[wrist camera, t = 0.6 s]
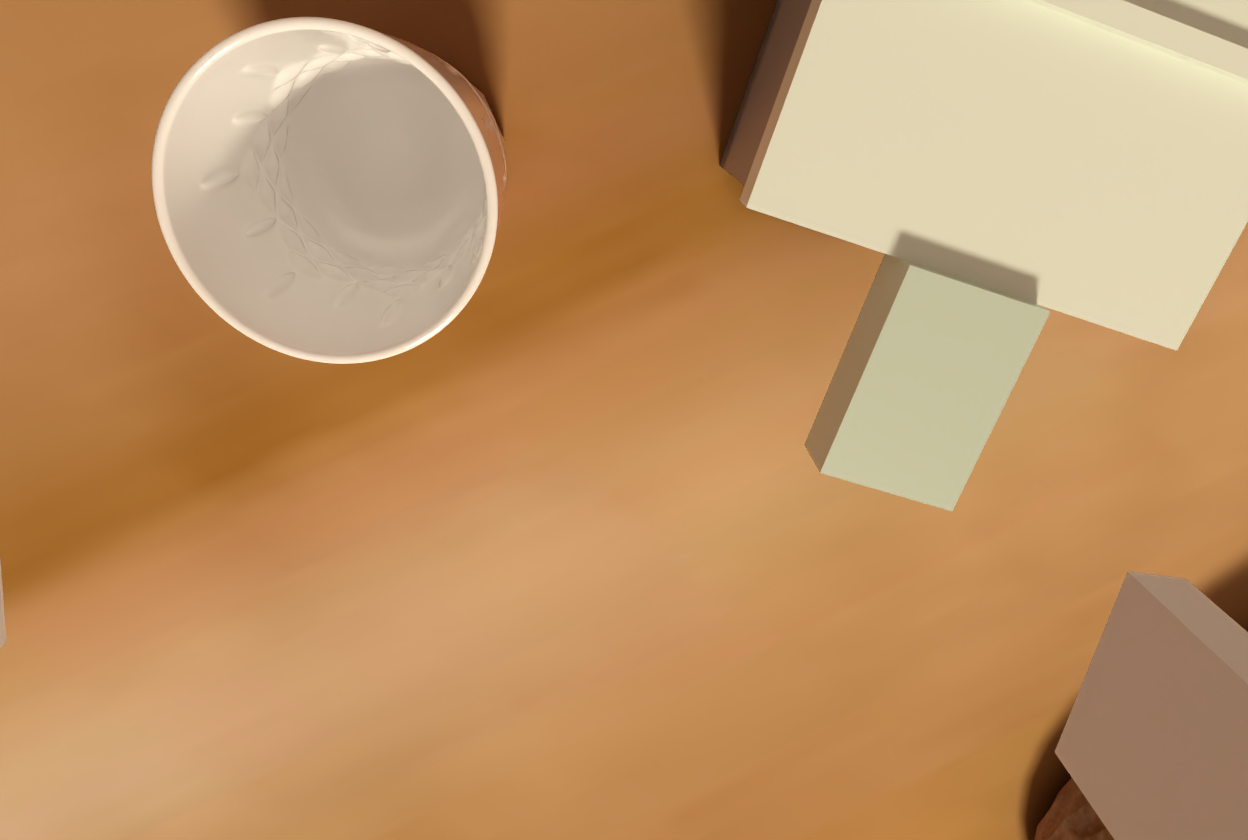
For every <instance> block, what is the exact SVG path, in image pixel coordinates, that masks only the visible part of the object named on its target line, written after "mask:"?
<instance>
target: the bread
mask: <svg viewBox="0 0 1248 840" xmlns="http://www.w3.org/2000/svg"><path fill="white" fill-rule="evenodd" d="M1034 840H1114V838H1113V837H1112V835H1111V834H1110V833H1109V831H1108V830H1107V828H1106V827H1105V825H1104V824H1103V822H1102V821H1101V819H1100V818H1099V816H1098V815H1097V814H1096V812H1095V811H1094V809H1093V808H1092V806H1091V805H1090V803H1089V802H1088V800H1087V799H1086V797H1085V796H1084V795H1083V793H1082V792H1081V790H1080V789H1079V787H1078V786H1077V784H1076V783H1075V781H1074V780H1073V778H1072V777H1071V779H1070V780H1069V781H1068V782H1067V783H1066V784H1065V785H1064V787H1063V788H1062V789H1061V790H1060V791H1059V793H1058V794H1057V796H1056V798H1055V800H1054V802H1053V804H1052V806H1051V808H1050V809H1049V811H1048V812H1047V813H1046V815H1045V816H1044V818H1043V819H1042V820H1041V822H1040V823H1039V824H1038V826H1037V830H1036V835H1035V839H1034Z"/></svg>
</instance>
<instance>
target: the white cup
mask: <svg viewBox="0 0 1248 840" xmlns="http://www.w3.org/2000/svg"><path fill="white" fill-rule="evenodd" d="M152 188H153V197H154V203H155V208H156V213H157V217H158V220H159V224H160V227H161V230H162V233H163V236H164V238H165V241H166V243H167V246H168V248H169V250H170V252H171V254H172V256H173V258H174V260H175V262H176V263H177V265H178V267H179V269H180V270H181V272H182V273H183V275H184V276H185V278H186V279H187V281H188V282H189V283H190V285H191V286H192V287H193V289H194V290H195V291H196V292H197V294H198V295H199V296H200V297H201V298H202V299H203V300H204V301H205V303H206V304H207V305H208V306H209V307H210V308H211V309H212V310H213V311H215V312H216V313H217V314H218V315H219V316H220V317H221V318H223V319H224V320H225V321H226V322H227V323H229V324H230V325H231V326H233V327H234V328H236V329H237V330H238V331H240V332H241V333H243V334H245V335H246V336H248V337H249V338H251V339H253V340H255V341H257V342H258V343H260V344H262V345H264V346H267V347H269V348H271V349H273V350H276V351H279V352H281V353H284V354H287V355H290V356H293V357H297V358H301V359H305V360H310V361H316V362H323V363H337V364H348V363H362V362H369V361H375V360H380V359H384V358H388V357H391V356H394V355H397V354H400V353H403V352H405V351H407V350H410V349H412V348H414V347H416V346H418V345H420V344H421V343H423V342H425V341H426V340H428V339H430V338H431V337H433V336H434V335H435V334H437V333H438V332H439V331H441V330H442V329H443V328H444V327H446V326H447V325H448V324H449V323H450V322H451V321H452V320H453V319H454V318H455V317H456V316H457V315H458V314H459V313H460V312H461V310H462V309H463V308H464V307H465V306H466V304H467V303H468V301H469V300H470V299H471V297H472V296H473V294H474V293H475V291H476V289H477V288H478V286H479V284H480V282H481V280H482V278H483V276H484V274H485V271H486V269H487V266H488V264H489V261H490V258H491V255H492V251H493V247H494V243H495V238H496V234H497V231H498V227H499V223H500V219H501V215H502V211H503V205H504V199H505V189H506V161H505V154H504V138H503V136H502V133H501V131H500V129H499V127H498V125H497V122H496V120H495V118H494V116H493V113H492V111H491V109H490V107H489V105H488V102H487V100H486V98H485V96H484V94H483V93H481V92H480V91H479V90H478V89H477V88H476V87H475V86H474V85H472V84H471V83H470V82H469V81H468V80H467V79H466V78H465V77H464V76H463V75H462V74H461V73H460V72H459V71H458V70H456V69H455V68H454V67H452V66H451V65H450V64H449V63H447V62H446V61H444V60H442V59H441V58H439V57H438V56H436V55H434V54H432V53H430V52H428V51H426V50H424V49H422V48H420V47H418V46H416V45H414V44H412V43H410V42H407V41H405V40H402V39H400V38H397V37H394V36H391V35H387V34H384V33H381V32H379V31H376V30H373V29H370V28H368V27H365V26H362V25H358V24H355V23H351V22H347V21H343V20H338V19H331V18H323V17H291V18H283V19H276V20H271V21H267V22H263V23H260V24H257V25H254V26H251V27H248V28H246V29H243V30H241V31H239V32H237V33H235V34H233V35H231V36H229V37H227V38H226V39H224V40H222V41H221V42H219V43H218V44H216V45H215V46H213V47H212V48H211V49H210V50H208V51H207V52H206V53H205V54H203V55H202V56H201V57H200V58H199V59H198V60H197V61H196V62H195V63H194V64H193V65H192V66H191V67H190V68H189V70H188V71H187V72H186V73H185V74H184V76H183V77H182V78H181V80H180V81H179V83H178V84H177V86H176V87H175V89H174V91H173V92H172V94H171V96H170V98H169V100H168V102H167V104H166V106H165V108H164V111H163V113H162V116H161V119H160V122H159V125H158V128H157V132H156V137H155V142H154V148H153V156H152Z"/></svg>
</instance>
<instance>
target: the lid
mask: <svg viewBox="0 0 1248 840" xmlns="http://www.w3.org/2000/svg"><path fill="white" fill-rule="evenodd" d="M739 201H740V202H741V203H742V204H743V205H744V206H745V207H746V208H749V209H752V210H755V211H758V212H761V213H764V214H767V215H770V216H773V217H776V218H779V219H782V220H785V221H788V222H791V223H794V224H797V225H800V226H803V227H806V228H809V229H812V230H815V231H818V232H821V233H824V234H827V235H830V236H833V237H836V238H839V239H842V240H846V241H849V242H852V243H855V244H858V245H861V246H864V247H867V248H870V249H873V250H876V251H879V252H882V253H885V255H884V258H883V260H882V262H881V265H880V267H879V269H878V272H877V274H876V276H875V279H874V281H873V284H872V286H871V288H870V291H869V293H868V295H867V298H866V300H865V303H864V305H863V307H862V310H861V312H860V314H859V317H858V319H857V322H856V324H855V326H854V329H853V331H852V333H851V336H850V338H849V340H848V343H847V345H846V348H845V350H844V352H843V355H842V357H841V359H840V362H839V364H838V367H837V369H836V371H835V374H834V376H833V378H832V381H831V383H830V385H829V388H828V390H827V393H826V395H825V397H824V400H823V402H822V404H821V407H820V409H819V412H818V414H817V416H816V419H815V421H814V423H813V426H812V428H811V430H810V433H809V435H808V438H807V440H806V442H805V447H806V448H807V450H808V452H809V454H810V456H811V457H812V459H813V461H814V463H815V465H816V466H817V468H818V470H819V472H820V473H823V474H826V475H829V476H833V477H836V478H840V479H843V480H847V481H850V482H853V483H857V484H860V485H864V486H867V487H870V488H874V489H877V490H881V491H884V492H887V493H891V494H894V495H898V496H901V497H905V498H908V499H911V500H915V501H918V502H922V503H925V504H928V505H932V506H935V507H939V508H942V509H945V510H949V511H952V510H953V508H954V506H955V504H956V502H957V500H958V498H959V496H960V494H961V492H962V490H963V488H964V486H965V484H966V482H967V480H968V478H969V476H970V474H971V472H972V470H973V468H974V466H975V464H976V462H977V460H978V458H979V456H980V454H981V452H982V450H983V447H984V445H985V443H986V441H987V439H988V437H989V435H990V433H991V431H992V429H993V427H994V425H995V423H996V421H997V419H998V417H999V415H1000V413H1001V411H1002V409H1003V407H1004V405H1005V403H1006V401H1007V399H1008V397H1009V395H1010V393H1011V391H1012V389H1013V387H1014V385H1015V383H1016V381H1017V379H1018V377H1019V374H1020V372H1021V370H1022V368H1023V366H1024V364H1025V362H1026V360H1027V358H1028V356H1029V354H1030V352H1031V350H1032V348H1033V346H1034V344H1035V342H1036V340H1037V338H1038V336H1039V334H1040V332H1041V330H1042V328H1043V326H1044V324H1045V322H1046V320H1047V318H1048V316H1049V314H1050V311H1048V310H1047V309H1045V308H1043V307H1041V306H1044V307H1047V308H1050V309H1053V310H1056V311H1059V312H1062V313H1065V314H1068V315H1071V316H1074V317H1077V318H1080V319H1083V320H1086V321H1089V322H1092V323H1095V324H1098V325H1101V326H1104V327H1107V328H1110V329H1113V330H1116V331H1119V332H1122V333H1125V334H1128V335H1131V336H1134V337H1137V338H1140V339H1143V340H1146V341H1149V342H1152V343H1155V344H1158V345H1161V346H1164V347H1167V348H1170V349H1173V350H1176V351H1177V349H1178V348H1179V346H1180V344H1181V342H1182V340H1183V339H1184V337H1185V335H1186V333H1187V331H1188V329H1189V328H1190V326H1191V324H1192V322H1193V320H1194V318H1195V317H1196V315H1197V313H1198V311H1199V309H1200V308H1201V306H1202V304H1203V302H1204V300H1205V298H1206V297H1207V295H1208V293H1209V291H1210V289H1211V287H1212V286H1213V284H1214V282H1215V280H1216V278H1217V277H1218V275H1219V273H1220V271H1221V269H1222V267H1223V266H1224V264H1225V262H1226V260H1227V258H1228V256H1229V255H1230V253H1231V251H1232V249H1233V247H1234V246H1235V244H1236V242H1237V240H1238V238H1239V236H1240V235H1241V233H1242V231H1243V229H1244V227H1245V225H1246V224H1247V222H1248V0H812V1H811V4H810V7H809V9H808V12H807V15H806V18H805V20H804V23H803V26H802V29H801V31H800V34H799V37H798V40H797V43H796V45H795V48H794V51H793V54H792V56H791V59H790V62H789V65H788V67H787V70H786V73H785V76H784V78H783V81H782V84H781V87H780V90H779V92H778V95H777V98H776V101H775V103H774V106H773V109H772V112H771V114H770V117H769V120H768V123H767V125H766V128H765V131H764V134H763V137H762V139H761V142H760V145H759V148H758V150H757V153H756V156H755V159H754V161H753V164H752V167H751V170H750V172H749V175H748V178H747V181H746V184H745V186H744V189H743V192H742V195H741V197H740V200H739ZM1039 305H1041V306H1039Z"/></svg>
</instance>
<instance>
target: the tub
mask: <svg viewBox="0 0 1248 840" xmlns="http://www.w3.org/2000/svg"><path fill="white" fill-rule="evenodd" d="M811 1H812V0H777V3H776V5H775V8H774V11H773V14H772V17H771V20H770V23H769V25H768V28H767V31H766V34H765V37H764V40H763V42H762V45H761V48H760V51H759V54H758V57H757V60H756V62H755V65H754V68H753V71H752V74H751V77H750V80H749V82H748V85H747V88H746V91H745V94H744V97H743V100H742V102H741V105H740V108H739V111H738V114H737V117H736V120H735V122H734V125H733V128H732V131H731V134H730V137H729V140H728V142H727V145H726V148H725V151H724V154H723V157H722V160H721V162H720V166H721V167H722V168H723V169H725V170H726V171H727V172H728V173H730V174H731V175H732V176H733V177H734V178H736V179H737V180H738V181H739V182H741V183H742V184H743V185H744V186H745V184H746V181H747V178H748V175H749V172H750V170H751V167H752V164H753V161H754V159H755V156H756V153H757V150H758V148H759V145H760V142H761V139H762V137H763V134H764V131H765V128H766V125H767V123H768V120H769V117H770V114H771V112H772V109H773V106H774V103H775V101H776V98H777V95H778V92H779V90H780V87H781V84H782V81H783V78H784V76H785V73H786V70H787V67H788V65H789V62H790V59H791V56H792V54H793V51H794V48H795V45H796V43H797V40H798V37H799V34H800V31H801V29H802V26H803V23H804V20H805V18H806V15H807V12H808V9H809V7H810V4H811Z"/></svg>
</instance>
